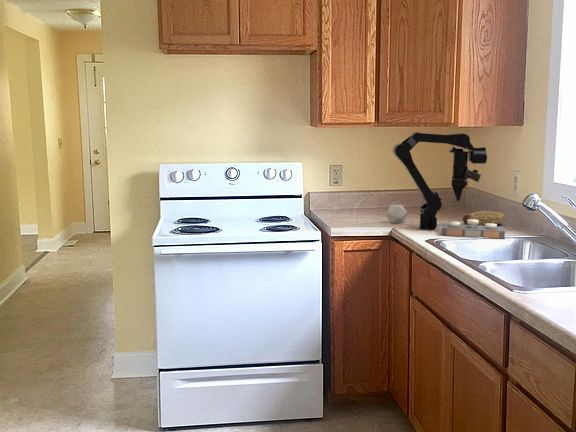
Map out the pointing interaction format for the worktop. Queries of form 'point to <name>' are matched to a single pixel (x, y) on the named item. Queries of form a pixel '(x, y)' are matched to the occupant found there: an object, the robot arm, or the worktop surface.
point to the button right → (490, 225)
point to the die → (396, 214)
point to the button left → (454, 224)
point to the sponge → (485, 217)
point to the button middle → (472, 222)
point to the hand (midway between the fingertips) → (458, 200)
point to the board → (473, 231)
